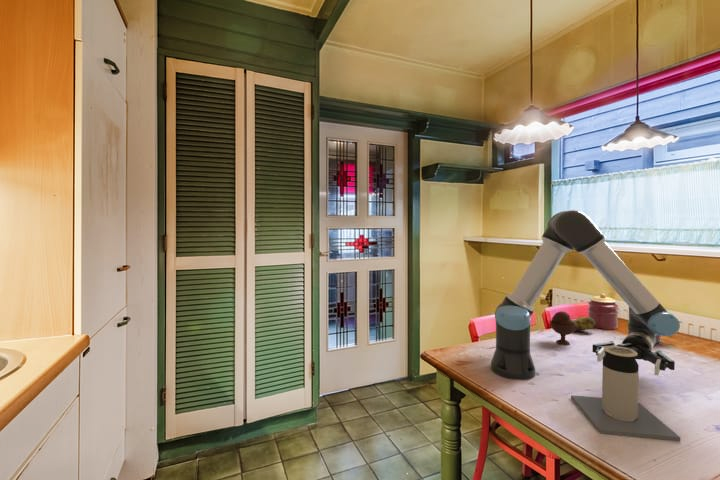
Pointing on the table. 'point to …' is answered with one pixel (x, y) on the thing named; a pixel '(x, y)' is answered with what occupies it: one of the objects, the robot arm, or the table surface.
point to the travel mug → (620, 382)
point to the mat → (623, 421)
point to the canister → (603, 312)
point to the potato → (584, 323)
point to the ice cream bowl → (563, 326)
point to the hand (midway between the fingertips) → (626, 363)
